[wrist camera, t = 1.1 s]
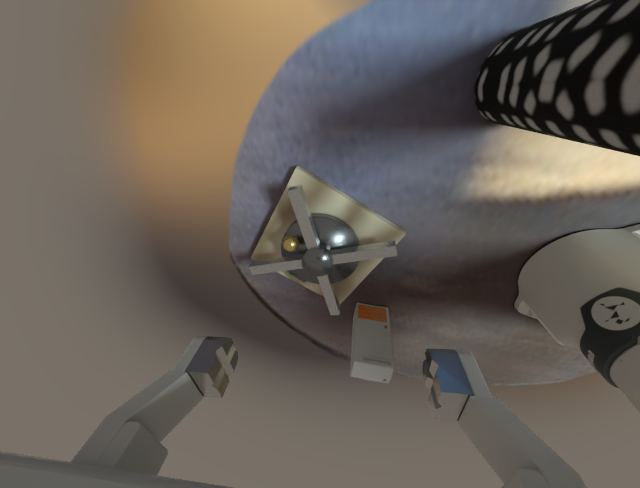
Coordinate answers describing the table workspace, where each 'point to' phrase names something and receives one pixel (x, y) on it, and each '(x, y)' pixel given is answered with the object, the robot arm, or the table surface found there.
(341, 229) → the capstan
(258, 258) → the beige base plate
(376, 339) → the skincare box
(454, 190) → the table surface
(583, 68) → the spotted tube
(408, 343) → the table surface
